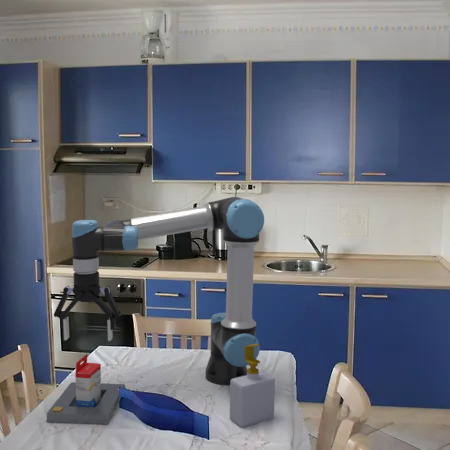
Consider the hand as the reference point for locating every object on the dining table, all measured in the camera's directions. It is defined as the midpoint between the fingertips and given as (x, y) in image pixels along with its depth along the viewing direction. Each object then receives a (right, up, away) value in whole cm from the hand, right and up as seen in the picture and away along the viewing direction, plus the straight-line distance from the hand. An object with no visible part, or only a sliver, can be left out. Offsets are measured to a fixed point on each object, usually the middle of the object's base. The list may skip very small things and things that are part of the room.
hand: (88, 339), depth 168 cm
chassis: (-1, -22, +3) cm, 22 cm away
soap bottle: (+50, -23, -4) cm, 55 cm away
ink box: (0, -21, +2) cm, 21 cm away
